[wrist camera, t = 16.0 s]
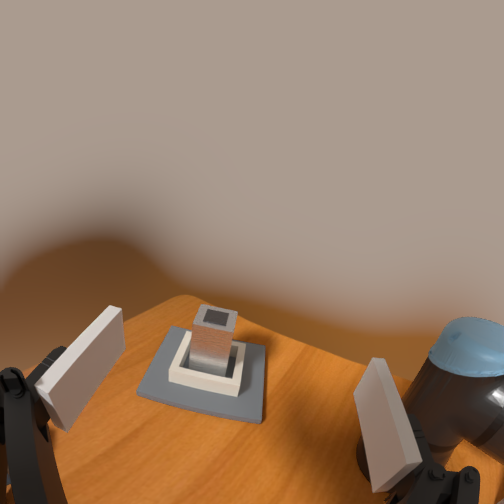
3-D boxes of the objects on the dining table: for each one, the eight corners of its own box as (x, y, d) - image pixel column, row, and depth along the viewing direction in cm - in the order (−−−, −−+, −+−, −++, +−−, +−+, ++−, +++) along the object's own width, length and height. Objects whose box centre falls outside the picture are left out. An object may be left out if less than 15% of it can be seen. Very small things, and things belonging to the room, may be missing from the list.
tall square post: (228, 360, 45) (237, 310, 42) (223, 383, 40) (233, 331, 37) (195, 353, 45) (201, 303, 42) (188, 375, 40) (192, 322, 37)
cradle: (264, 349, 52) (268, 335, 50) (260, 424, 35) (265, 409, 33) (171, 329, 52) (172, 314, 50) (136, 395, 35) (134, 379, 33)
